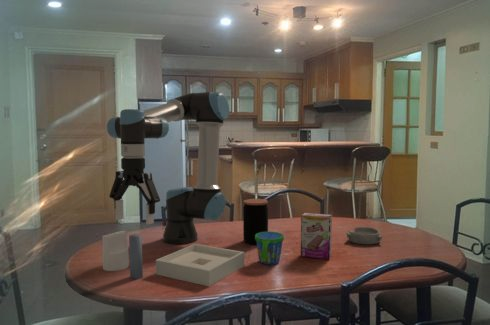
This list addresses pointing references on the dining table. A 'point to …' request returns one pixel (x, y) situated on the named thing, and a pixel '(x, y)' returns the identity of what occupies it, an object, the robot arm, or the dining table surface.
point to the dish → (364, 235)
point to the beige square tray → (200, 264)
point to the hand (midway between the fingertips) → (134, 221)
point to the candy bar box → (316, 235)
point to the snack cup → (269, 247)
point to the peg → (135, 256)
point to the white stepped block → (115, 251)
